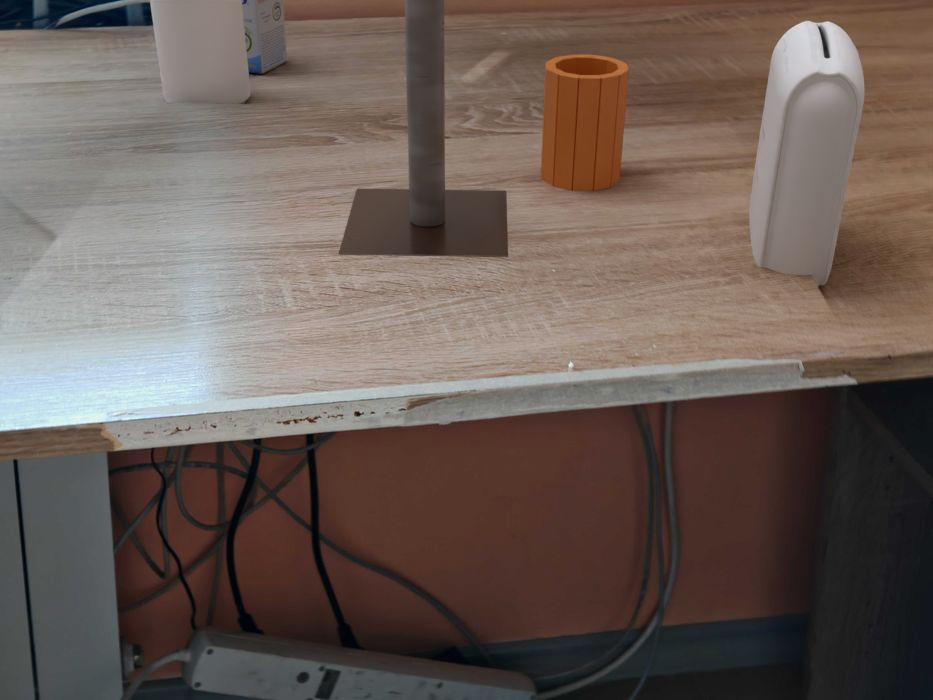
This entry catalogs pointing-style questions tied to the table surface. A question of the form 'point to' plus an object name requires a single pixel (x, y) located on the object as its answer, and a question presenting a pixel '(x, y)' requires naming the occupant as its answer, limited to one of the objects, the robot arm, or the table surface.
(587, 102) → the ring sleeve
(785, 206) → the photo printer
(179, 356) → the table surface
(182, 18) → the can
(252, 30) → the medicine box
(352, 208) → the post stand
